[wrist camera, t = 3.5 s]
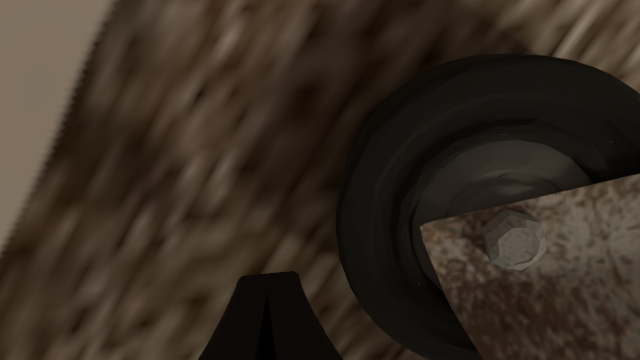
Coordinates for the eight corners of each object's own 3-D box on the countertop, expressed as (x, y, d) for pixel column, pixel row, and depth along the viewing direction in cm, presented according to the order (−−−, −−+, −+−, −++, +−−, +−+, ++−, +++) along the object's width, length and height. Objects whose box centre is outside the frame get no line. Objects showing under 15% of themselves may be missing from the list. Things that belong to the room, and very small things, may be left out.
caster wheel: (315, 94, 15) (640, 1, 13) (396, 375, 17) (673, 327, 16) (277, 127, 8) (903, -47, 7) (413, 562, 11) (883, 516, 9)
